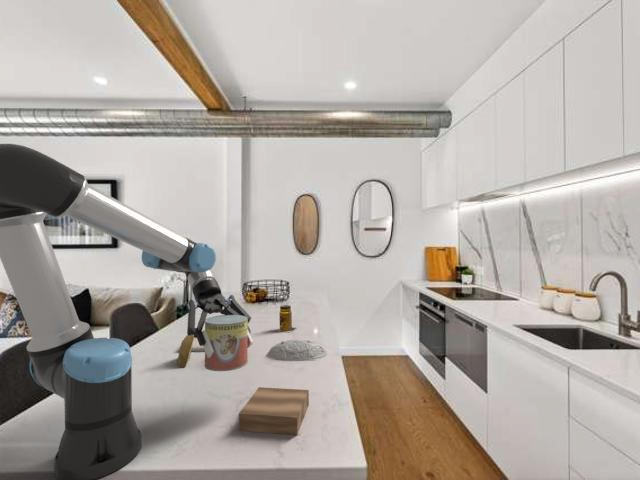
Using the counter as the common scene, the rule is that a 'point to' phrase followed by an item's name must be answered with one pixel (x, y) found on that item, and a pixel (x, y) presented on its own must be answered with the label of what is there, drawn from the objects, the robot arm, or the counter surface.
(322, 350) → the silver oval dome
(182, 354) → the rock
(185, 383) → the counter surface
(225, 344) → the canned food
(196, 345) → the washcloth
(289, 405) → the walnut base
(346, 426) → the counter surface
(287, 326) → the condiment
